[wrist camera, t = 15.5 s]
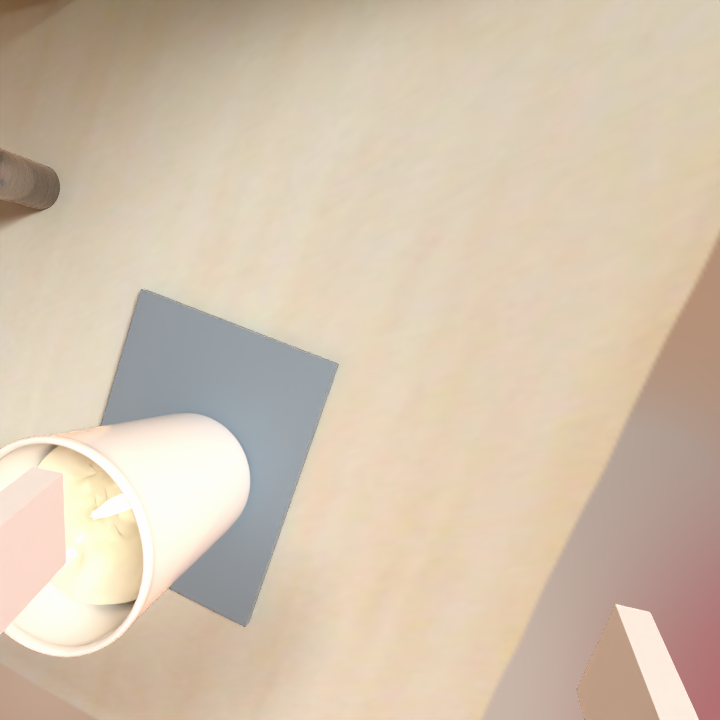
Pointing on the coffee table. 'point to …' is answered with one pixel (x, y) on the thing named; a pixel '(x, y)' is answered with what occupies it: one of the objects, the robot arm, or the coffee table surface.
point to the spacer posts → (27, 182)
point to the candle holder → (126, 520)
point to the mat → (238, 414)
